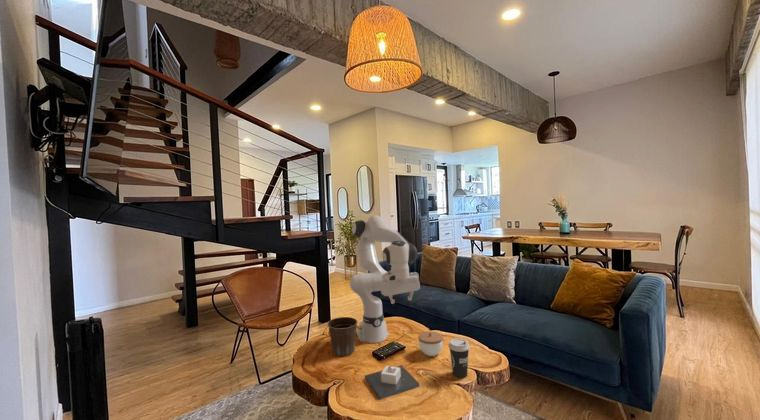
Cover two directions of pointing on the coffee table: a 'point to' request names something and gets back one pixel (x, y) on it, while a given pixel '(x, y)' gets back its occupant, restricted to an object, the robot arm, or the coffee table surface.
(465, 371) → the coffee cup
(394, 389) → the base plate
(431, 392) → the coffee table surface
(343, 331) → the plant pot
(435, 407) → the coffee table surface
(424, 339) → the lidded bowl
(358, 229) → the robot arm
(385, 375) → the collar
